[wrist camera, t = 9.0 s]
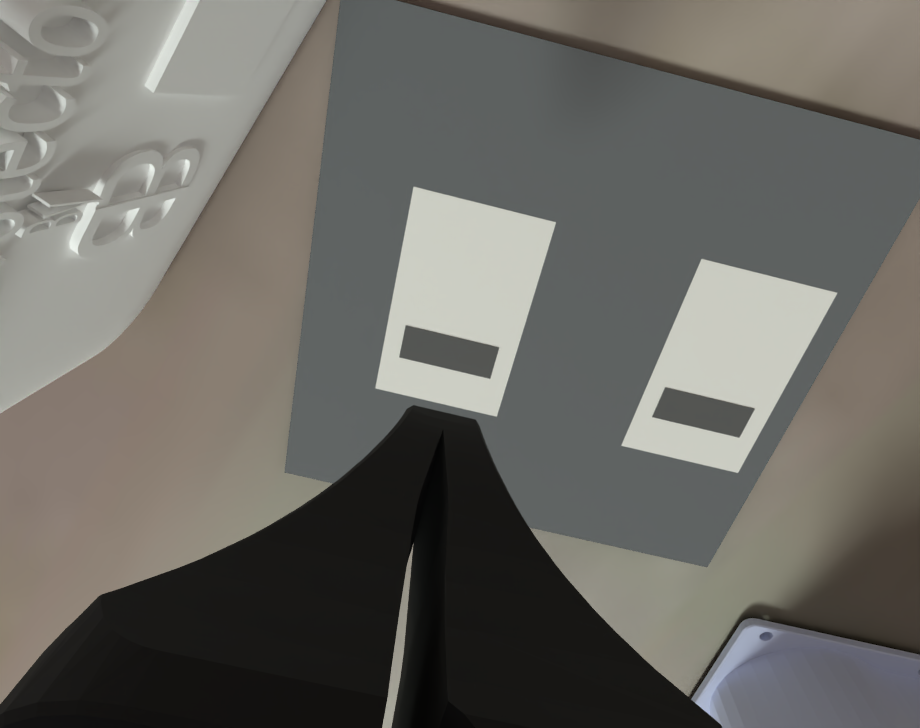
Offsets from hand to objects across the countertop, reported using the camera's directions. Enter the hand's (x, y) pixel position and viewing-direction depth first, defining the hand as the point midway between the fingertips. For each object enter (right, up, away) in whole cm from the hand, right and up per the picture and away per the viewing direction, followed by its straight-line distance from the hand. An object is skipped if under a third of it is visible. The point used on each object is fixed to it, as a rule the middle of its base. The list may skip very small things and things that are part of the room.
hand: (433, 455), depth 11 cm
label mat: (+4, +3, +8) cm, 9 cm away
